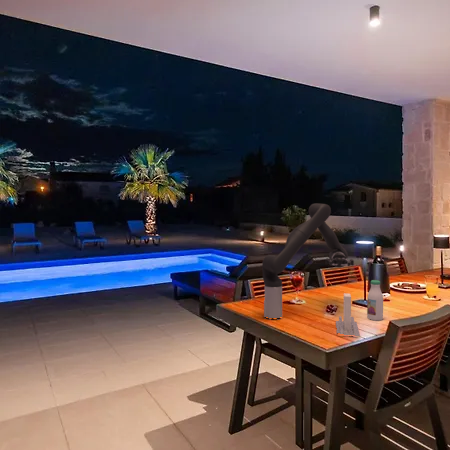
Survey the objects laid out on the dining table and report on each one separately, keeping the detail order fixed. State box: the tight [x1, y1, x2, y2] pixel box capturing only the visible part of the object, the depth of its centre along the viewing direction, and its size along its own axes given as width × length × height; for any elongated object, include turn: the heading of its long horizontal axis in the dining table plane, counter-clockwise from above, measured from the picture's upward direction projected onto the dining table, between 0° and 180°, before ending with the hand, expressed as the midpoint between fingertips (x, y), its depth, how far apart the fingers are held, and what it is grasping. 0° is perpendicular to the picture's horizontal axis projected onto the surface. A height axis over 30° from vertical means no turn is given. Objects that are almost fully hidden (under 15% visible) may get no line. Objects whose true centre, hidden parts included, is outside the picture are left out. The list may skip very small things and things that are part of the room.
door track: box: [335, 315, 361, 337], centre depth 192 cm, size 10×20×4 cm, turn 166°
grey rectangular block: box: [343, 292, 352, 330], centre depth 191 cm, size 3×6×16 cm, turn 166°
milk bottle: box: [366, 279, 384, 321], centre depth 208 cm, size 8×8×20 cm
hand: (339, 263), depth 206 cm, fingers open, 8 cm apart
